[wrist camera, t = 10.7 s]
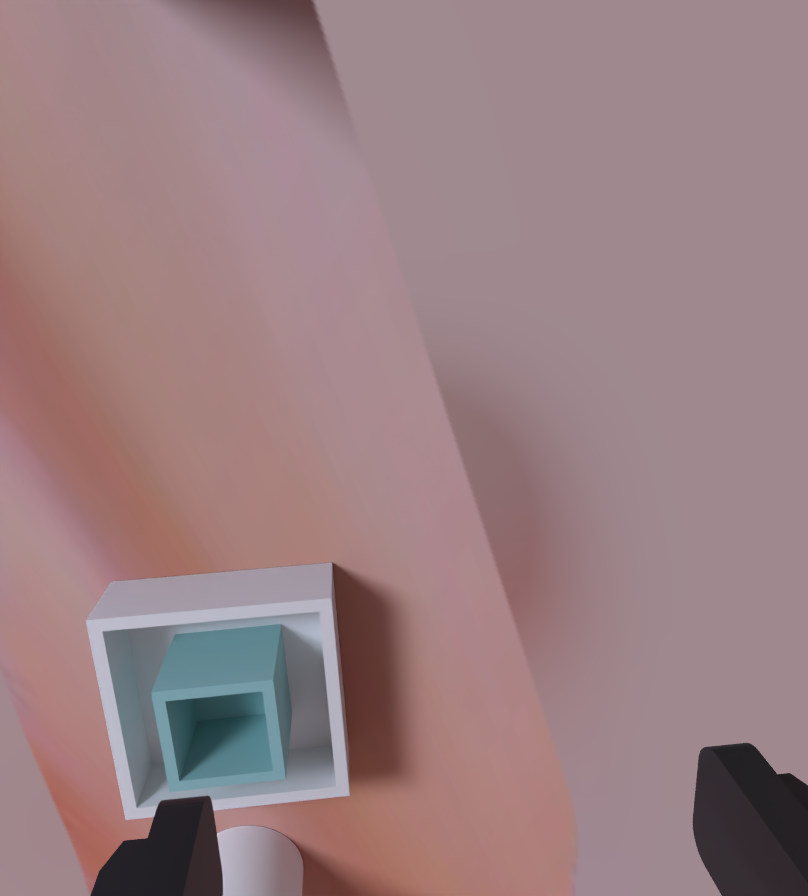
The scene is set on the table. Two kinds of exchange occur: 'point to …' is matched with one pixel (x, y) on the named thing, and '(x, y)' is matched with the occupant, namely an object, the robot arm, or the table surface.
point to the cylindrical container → (259, 863)
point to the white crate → (207, 609)
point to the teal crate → (224, 708)
